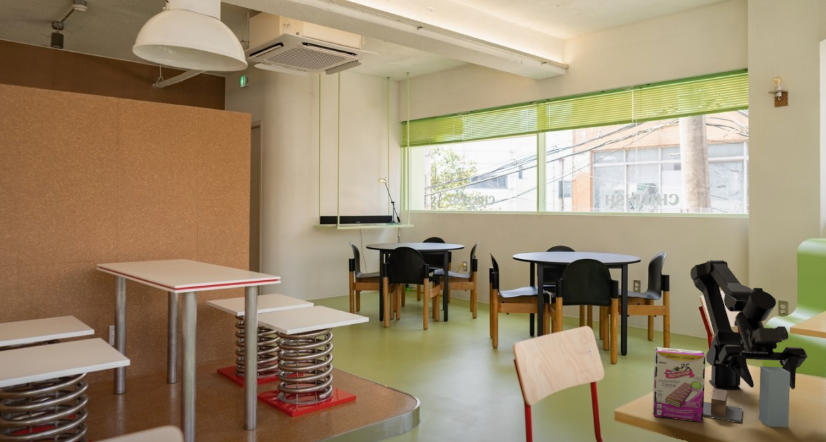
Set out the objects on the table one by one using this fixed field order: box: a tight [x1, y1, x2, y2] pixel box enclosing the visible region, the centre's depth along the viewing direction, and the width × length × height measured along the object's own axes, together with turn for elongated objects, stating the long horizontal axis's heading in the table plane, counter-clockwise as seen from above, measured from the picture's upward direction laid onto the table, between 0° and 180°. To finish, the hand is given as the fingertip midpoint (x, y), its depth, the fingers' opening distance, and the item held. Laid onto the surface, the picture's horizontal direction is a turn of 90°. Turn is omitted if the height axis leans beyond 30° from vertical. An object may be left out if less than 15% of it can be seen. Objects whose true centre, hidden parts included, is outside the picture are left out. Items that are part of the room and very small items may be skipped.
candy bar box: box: [652, 346, 706, 423], centre depth 142 cm, size 11×5×16 cm, turn 71°
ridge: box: [710, 388, 728, 417], centre depth 145 cm, size 3×9×4 cm, turn 149°
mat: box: [703, 401, 743, 424], centre depth 145 cm, size 10×10×1 cm
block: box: [758, 366, 791, 428], centre depth 138 cm, size 4×4×13 cm
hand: (773, 387), depth 138 cm, fingers open, 9 cm apart
